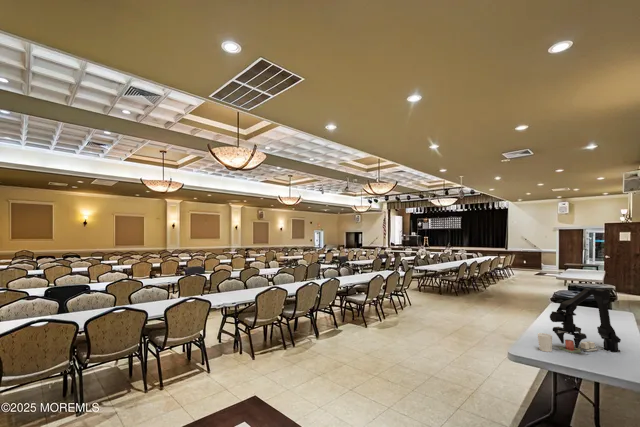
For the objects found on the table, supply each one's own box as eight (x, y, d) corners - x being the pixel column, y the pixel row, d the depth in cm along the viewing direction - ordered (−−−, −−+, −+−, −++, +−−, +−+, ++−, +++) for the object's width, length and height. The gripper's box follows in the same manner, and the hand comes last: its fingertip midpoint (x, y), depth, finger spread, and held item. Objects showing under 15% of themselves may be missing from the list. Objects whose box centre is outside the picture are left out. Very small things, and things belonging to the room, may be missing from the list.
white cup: (547, 348, 213) (546, 333, 214) (556, 352, 205) (555, 336, 206) (535, 348, 213) (534, 333, 214) (544, 352, 205) (543, 336, 206)
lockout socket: (584, 351, 206) (583, 349, 206) (571, 353, 204) (571, 351, 204) (571, 347, 214) (571, 345, 214) (559, 348, 211) (559, 347, 212)
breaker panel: (598, 351, 207) (598, 349, 207) (587, 352, 205) (586, 350, 205) (580, 345, 218) (580, 343, 218) (570, 346, 215) (569, 345, 216)
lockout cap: (576, 351, 206) (576, 341, 207) (570, 352, 206) (569, 341, 206) (569, 349, 211) (569, 339, 212) (563, 349, 211) (562, 339, 211)
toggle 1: (589, 348, 207) (588, 343, 207) (585, 349, 206) (585, 343, 207) (584, 347, 210) (584, 341, 210) (581, 347, 209) (580, 342, 210)
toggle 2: (594, 348, 208) (594, 342, 209) (591, 348, 208) (591, 343, 208) (590, 346, 211) (589, 341, 211) (586, 347, 210) (586, 341, 211)
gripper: (592, 324, 203) (594, 349, 202) (563, 317, 221) (565, 340, 220) (578, 325, 200) (580, 351, 199) (551, 318, 218) (552, 341, 217)
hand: (569, 345), depth 209 cm, fingers open, 9 cm apart
